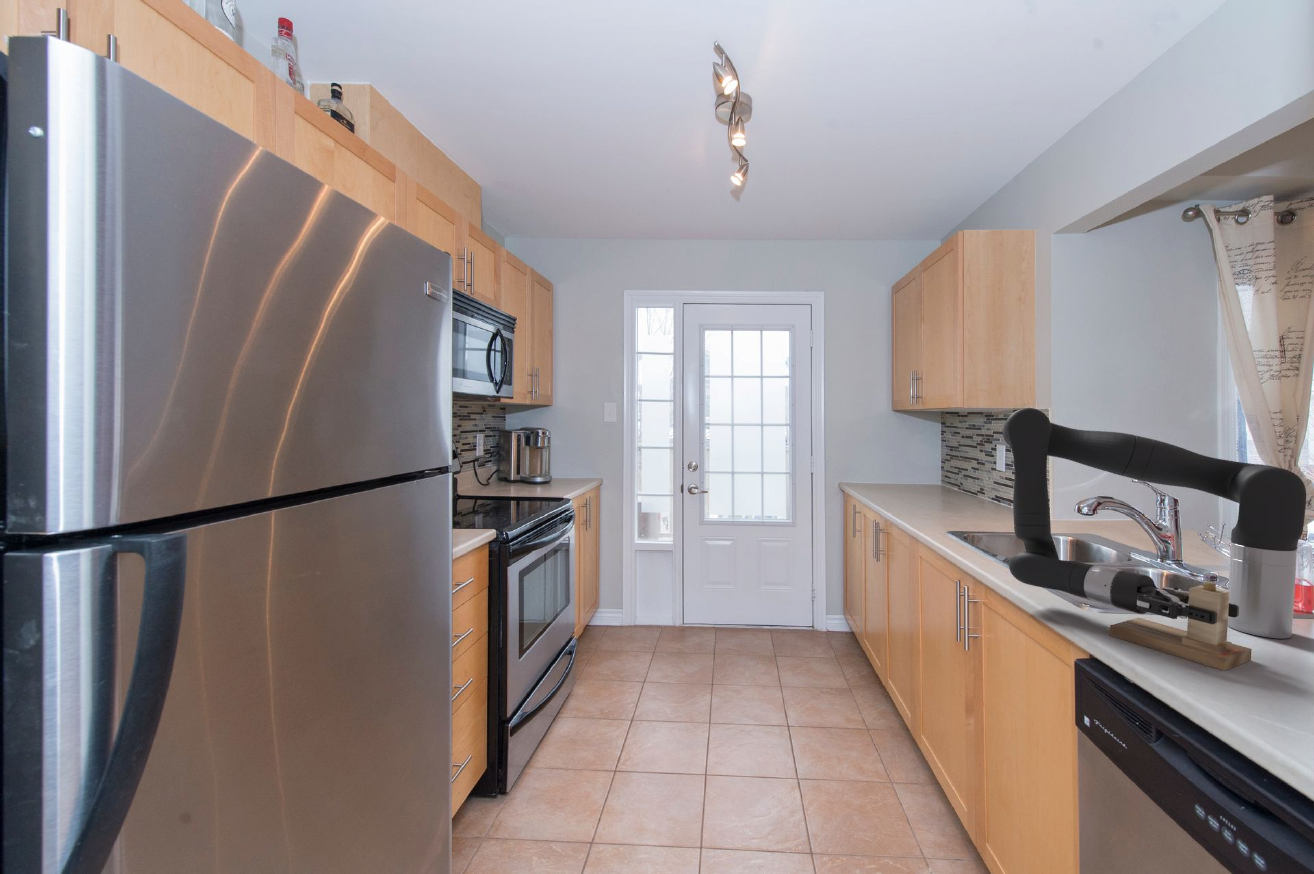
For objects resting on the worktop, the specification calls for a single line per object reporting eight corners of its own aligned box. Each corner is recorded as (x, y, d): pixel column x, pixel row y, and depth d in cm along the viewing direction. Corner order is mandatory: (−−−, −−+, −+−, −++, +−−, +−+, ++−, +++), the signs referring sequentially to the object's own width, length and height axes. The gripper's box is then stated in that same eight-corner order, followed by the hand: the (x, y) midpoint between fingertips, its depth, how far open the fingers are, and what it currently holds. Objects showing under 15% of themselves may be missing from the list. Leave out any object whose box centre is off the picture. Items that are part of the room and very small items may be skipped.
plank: (1137, 627, 118) (1138, 617, 118) (1251, 659, 103) (1251, 648, 103) (1110, 635, 114) (1110, 625, 114) (1224, 670, 99) (1224, 659, 99)
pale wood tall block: (1195, 639, 107) (1198, 577, 107) (1235, 650, 102) (1238, 586, 102) (1181, 643, 105) (1184, 581, 105) (1221, 655, 100) (1225, 589, 100)
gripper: (1099, 574, 113) (1208, 599, 98) (1138, 565, 119) (1247, 588, 104) (1097, 612, 113) (1206, 643, 98) (1137, 602, 119) (1245, 629, 105)
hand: (1227, 615), depth 101 cm, fingers open, 7 cm apart
